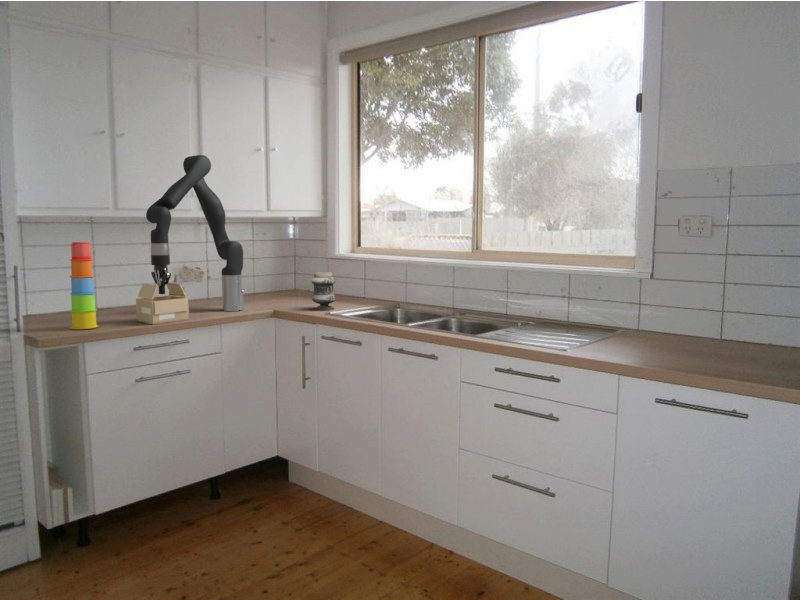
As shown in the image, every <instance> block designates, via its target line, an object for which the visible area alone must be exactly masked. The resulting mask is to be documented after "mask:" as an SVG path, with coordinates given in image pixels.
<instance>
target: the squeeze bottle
mask: <svg viewBox="0 0 800 600" xmlns="http://www.w3.org/2000/svg"><path fill="white" fill-rule="evenodd" d="M173 283H180V284H181V286H182V288H183V290H184V292H185V293H186V291H185V287H184V286H183V284H182V283H183V282H181V281H180V278H179V275H178V274H174V279H173ZM168 291H169V290H168ZM170 295H173V296H179V297H186V296H182V295H175V294H171V293H170V291H169V293H168V296H170Z"/></svg>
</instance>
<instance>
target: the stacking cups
mask: <svg viewBox="0 0 800 600" xmlns="http://www.w3.org/2000/svg"><path fill="white" fill-rule="evenodd" d="M70 245H71V246H70V247H71V248H70V249H71V259H69V261H70V263H71V264H70V266H71V267H70V270H71V273H70V274H71V275H70V276H69V278H70V282H71V283H70V286H71V292H70V300H71V309H70V310H69V312H70V313H71V326H70V329H71V330H90V329H97V328H99V325H98V324H97V323H98V322H97V311H98V309H97V308H96V300H95V294H96V292H95V290H94V289H95V288H94V277H95V275H93V262H92V261H93V259H92V246H91V243H90V242H87V241H86V242H81V241H79V242H78V241H77V242H76V241H74V242H73V241H72V242H71V244H70Z"/></svg>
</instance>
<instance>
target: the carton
mask: <svg viewBox="0 0 800 600" xmlns="http://www.w3.org/2000/svg"><path fill="white" fill-rule="evenodd" d="M135 302H136V303H135V306H136V307H135V308H136V309H135V310H136V321H139V322H138V323H142V322H143V324H147V323H148V324H147V325H151V324H152V326H155V325H163V324H171V323H178V322H186V321H185V320H187V321H190V309H189V297H186V296H185V297H179V296H173V295H170V296H169V295H164V296H163V295H162V296H154V298H153V299H148V298H142V297H139V298H135Z"/></svg>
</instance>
